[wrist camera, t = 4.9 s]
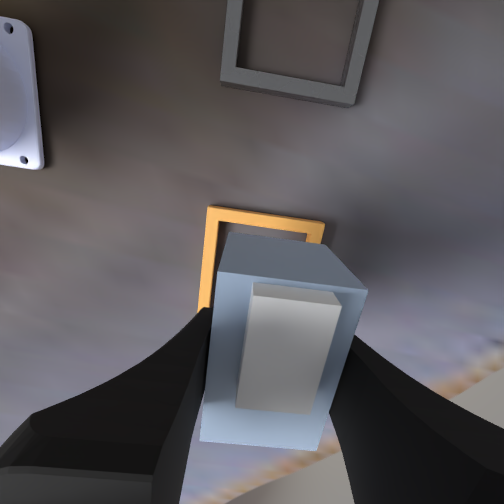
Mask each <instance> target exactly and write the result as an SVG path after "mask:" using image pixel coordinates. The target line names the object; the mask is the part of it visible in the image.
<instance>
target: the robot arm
mask: <svg viewBox="0 0 504 504" xmlns="http://www.w3.org/2000/svg"><path fill="white" fill-rule="evenodd" d="M12 26H13V29H14V30H13V33H12V34H11V33H10V28H11V27H12ZM25 157H27V158H28V163H26V162H25ZM0 165H7V166H14V167H20V168H27V169H34V170H37V169H42V168H43V167H44V154H43V143H42V132H41V122H40V111H39V101H38V90H37V79H36V69H35V58H34V48H33V37H32V32H31V29H30V28H29V26H27V25H26V24H25V23H23V22H22V21H20V20H17V19H12V18H7V17H1V16H0ZM213 309H214V308H209V307H203V308H202V309H200V311H199V312H198V313H197V314H196V315H195V316H194V318H193V319H192V320H191V321H190V322H189V323H188V324H187V325H186V326H185V327H184V328H183V329H182V330H181V331H180V332H179V333H178V334H176V335H175V336H174V337H173V338H172V339H171V340H169V341H168V342H167V343H166V344H165V345H164V346H162V347H161V348H160V349H158V350H157V351H156V352H154V353H153V354H152V355H150V356H149V357H147V358H146V359H145V360H143V361H142V362H140V363H139V364H137V365H135V366H134V367H132V368H130V369H128V370H127V371H125V372H123V373H122V374H120V375H118V376H116V377H115V378H113V379H111V380H109V381H107V382H105V383H103V384H101V385H99V386H97V387H95V388H93V389H91V390H89V391H86V392H84V393H82V394H80V395H78V396H75V397H73V398H70V399H68V400H66V401H63V402H61V403H58V404H56V405H53V406H51V407H48V408H46V409H44V410H41V411H38V412H36V413H33V414H31V415H30V416H29V417H28V418H27V419H26V420H25V421H24V422H23V423H22V424H21V425H20V426H19V427H18V428H17V429H16V430H15V431H14V432H13V433H12V435H11V436H10V437H9V438H8V439H7V440H6V441H5V442H4V443H3V445H2V446H1V447H0V504H179V501H180V495H181V490H182V485H183V479H184V474H185V469H186V464H187V459H188V454H189V448H190V443H191V438H192V434H193V430H194V426H195V422H196V419H197V415H198V412H199V408H200V405H201V401H202V398H203V394H204V390H205V385H206V375H207V366H208V356H209V347H210V337H211V328H212V319H213ZM329 414H330V417H331V420H332V423H333V425H334V428H335V431H336V434H337V437H338V440H339V443H340V447H341V450H342V453H343V457H344V461H345V465H346V469H347V473H348V477H349V481H350V485H351V490H352V494H353V499H354V503H355V504H504V429H503V428H501V427H499V426H497V425H494V424H493V423H491V422H488V421H486V420H484V419H483V418H481V417H479V416H477V415H474V414H473V413H471V412H469V411H467V410H465V409H463V408H462V407H460V406H458V405H456V404H454V403H453V402H451V401H449V400H447V399H445V398H444V397H442V396H440V395H439V394H437V393H435V392H434V391H432V390H430V389H429V388H427V387H426V386H424V385H422V384H421V383H419V382H418V381H416V380H415V379H413V378H411V377H410V376H408V375H407V374H406V373H404V372H403V371H401V370H400V369H398V368H397V367H396V366H394V365H393V364H392V363H390V362H389V361H387V360H386V359H385V358H383V357H382V356H381V355H379V354H378V353H377V352H376V351H374V350H373V349H372V348H371V347H369V346H368V345H367V344H366V343H364V342H363V341H362V340H361V339H359V338H358V337H357V336H356V335H354V337H353V340H352V343H351V346H350V349H349V352H348V355H347V358H346V361H345V364H344V367H343V370H342V373H341V376H340V379H339V383H338V386H337V389H336V392H335V395H334V398H333V401H332V404H331V407H330V410H329Z"/></svg>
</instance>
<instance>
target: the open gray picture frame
mask: <svg viewBox="0 0 504 504" xmlns="http://www.w3.org/2000/svg"><path fill="white" fill-rule="evenodd" d="M378 3H379V0H359V4H358V8H357V13H356V17H355V22H354V26H353V31H352V35H351V40H350V44H349V49H348V53H347V58H346V62H345V67H344V71H343V76H342V80H341V85H340V86H337V85H331V84H326V83H320V82H315V81H309V80H304V79H298V78H293V77H287V76H282V75H276V74H271V73H265V72H260V71H255V70H249V69H244V68H238V67H237V60H238V51H239V42H240V33H241V25H242V16H243V7H244V0H228V1H227V12H226V22H225V32H224V43H223V53H222V64H221V74H220V82H221V86H225V87H231V88H236V89H242V90H248V91H253V92H259V93H265V94H270V95H276V96H281V97H287V98H293V99H298V100H304V101H310V102H315V103H321V104H327V105H332V106H338V107H343V108H349V107H351V106H352V105H354V103H355V99H356V94H357V90H358V86H359V82H360V78H361V74H362V70H363V66H364V61H365V57H366V53H367V49H368V45H369V41H370V37H371V32H372V28H373V24H374V20H375V16H376V12H377V8H378Z"/></svg>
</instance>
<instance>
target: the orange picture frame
mask: <svg viewBox="0 0 504 504" xmlns="http://www.w3.org/2000/svg"><path fill="white" fill-rule="evenodd" d="M219 221H225V222H232V223H239V224H246V225H253V226H260V227H267V228H274V229H281V230H288V231H295V232H302V233H307V237H306V242H309V243H317V244H320V243H321V239H322V235H323V231H324V227H325V224H324V223H323V222H321V221H314V220H307V219H301V218H294V217H287V216H280V215H274V214H267V213H260V212H253V211H246V210H240V209H233V208H226V207H219V206H213V205H209V206H208V209H207V220H206V230H205V240H204V251H203V261H202V271H201V282H200V292H199V303H198V312H199V311H200V309H202V308H203V307H209V308H210V301H211V292H212V283H213V274H214V265H215V256H216V247H217V238H218V230H219Z"/></svg>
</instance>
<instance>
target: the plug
mask: <svg viewBox="0 0 504 504" xmlns="http://www.w3.org/2000/svg"><path fill="white" fill-rule="evenodd" d="M367 294H368V289H367V288H366V287H365V286H364V285H363V284H362V283H361V282H360V281H359V280H358V278H357V277H356V276H355V275H354V274H353V273H352V272H351V271H350V270H349V269H348V268H347V267H346V266H345V265H344V264H343V263H342V262H341V261H340V260H339V258H338V257H337V256H336V255H335V254H334V253H333V252H332V251H331V250H330V249H329V248H328V247H327V246H326V245H324V244H317V243H309V242H302V241H295V240H287V239H280V238H272V237H265V236H257V235H250V234H242V233H235V232H229V233H228V237H227V240H226V244H225V247H224V251H223V254H222V258H221V261H220V265H219V268H218V272H217V281H216V290H215V300H214V309H213V319H212V328H211V337H210V347H209V356H208V366H207V375H206V385H205V394H204V403H203V413H202V422H201V432H200V441H206V442H218V443H229V444H241V445H253V446H264V447H276V448H288V449H299V450H311V451H316V450H317V447H318V444H319V441H320V438H321V435H322V432H323V429H324V426H325V422H326V419H327V416H328V413H329V410H330V407H331V404H332V401H333V398H334V395H335V392H336V389H337V386H338V383H339V379H340V376H341V373H342V370H343V367H344V364H345V361H346V358H347V355H348V352H349V349H350V346H351V343H352V340H353V337H354V333H355V330H356V327H357V324H358V321H359V318H360V315H361V312H362V309H363V306H364V303H365V300H366V297H367Z"/></svg>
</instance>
